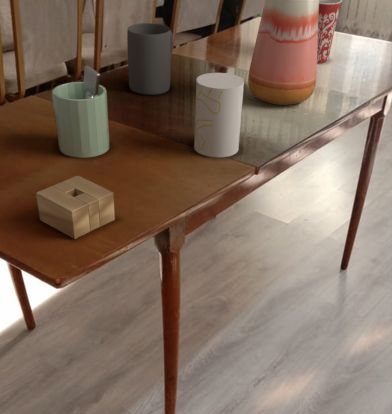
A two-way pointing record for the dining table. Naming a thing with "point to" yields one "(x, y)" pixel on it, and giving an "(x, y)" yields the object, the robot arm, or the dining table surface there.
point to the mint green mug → (81, 120)
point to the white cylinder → (218, 114)
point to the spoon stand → (76, 206)
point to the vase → (285, 52)
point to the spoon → (91, 82)
